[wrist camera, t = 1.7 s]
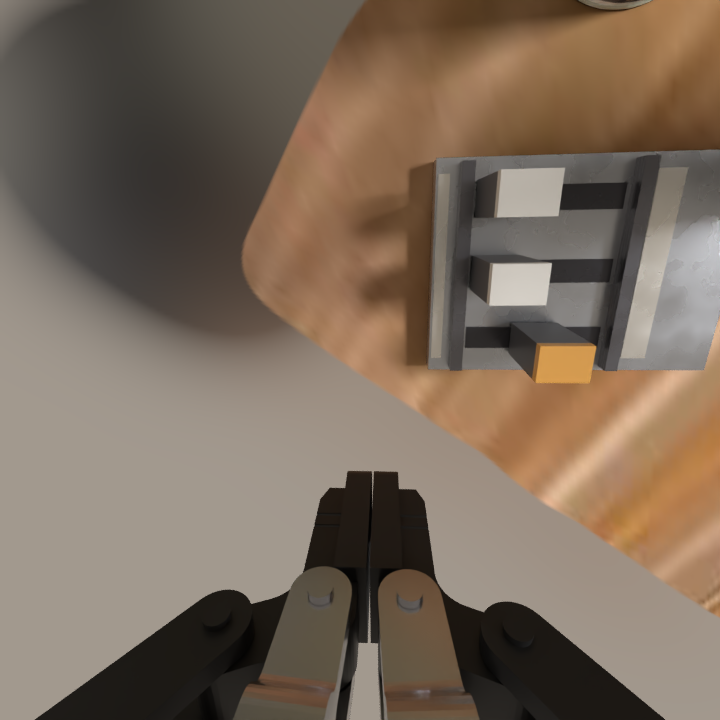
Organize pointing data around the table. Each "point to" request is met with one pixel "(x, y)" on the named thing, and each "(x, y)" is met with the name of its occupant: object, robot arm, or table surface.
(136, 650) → the robot arm
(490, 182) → the block
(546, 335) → the breaker
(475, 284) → the block
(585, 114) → the table surface
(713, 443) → the table surface
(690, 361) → the breaker panel
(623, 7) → the coffee can
